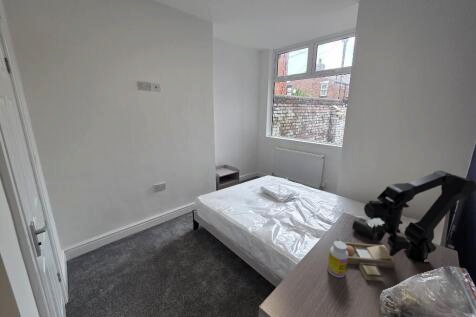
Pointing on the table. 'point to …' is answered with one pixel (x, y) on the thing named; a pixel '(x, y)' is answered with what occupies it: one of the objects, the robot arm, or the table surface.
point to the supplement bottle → (338, 259)
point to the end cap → (363, 228)
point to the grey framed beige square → (371, 272)
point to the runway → (370, 255)
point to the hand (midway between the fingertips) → (384, 248)
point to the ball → (350, 250)
